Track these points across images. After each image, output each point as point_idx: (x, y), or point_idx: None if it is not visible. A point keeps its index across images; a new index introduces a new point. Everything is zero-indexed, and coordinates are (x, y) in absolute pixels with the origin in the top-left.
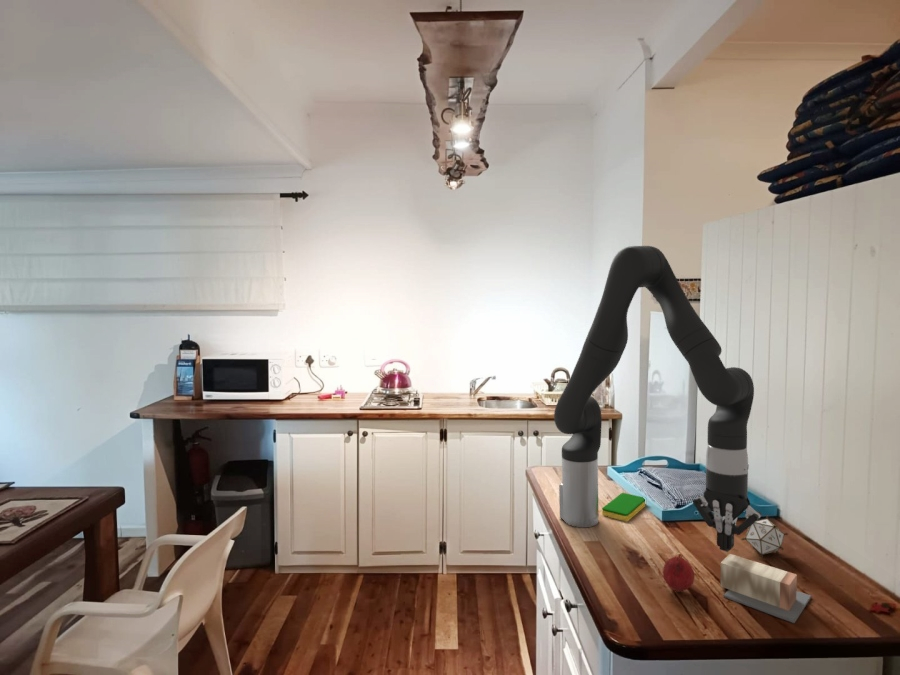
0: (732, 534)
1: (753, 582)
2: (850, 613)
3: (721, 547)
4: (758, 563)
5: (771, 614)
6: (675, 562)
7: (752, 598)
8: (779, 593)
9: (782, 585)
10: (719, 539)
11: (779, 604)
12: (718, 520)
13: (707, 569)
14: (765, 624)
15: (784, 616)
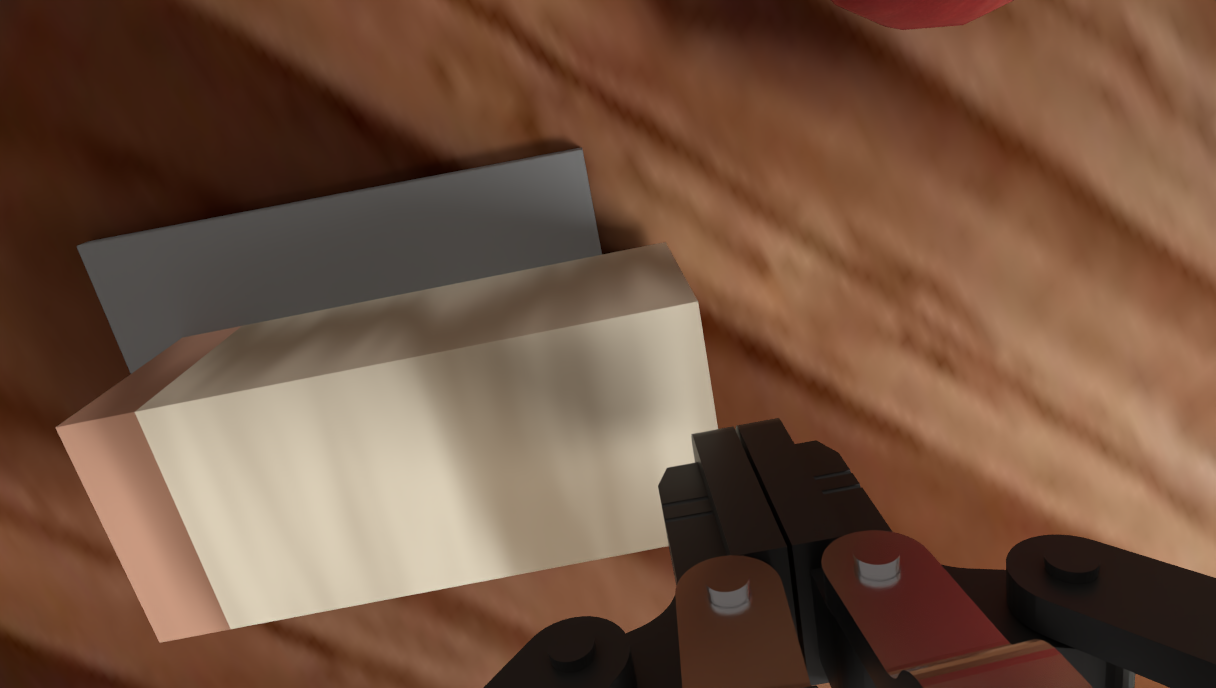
0: (668, 608)
1: (392, 330)
2: (19, 630)
3: (760, 430)
4: (466, 570)
5: (237, 213)
6: None
7: (421, 280)
8: (194, 367)
9: (128, 405)
10: (825, 493)
11: (232, 332)
12: (959, 662)
13: (870, 413)
14: (177, 47)
15: (147, 241)
